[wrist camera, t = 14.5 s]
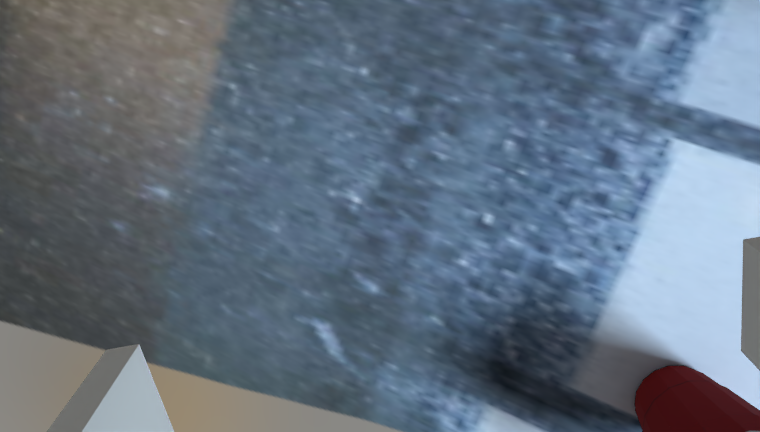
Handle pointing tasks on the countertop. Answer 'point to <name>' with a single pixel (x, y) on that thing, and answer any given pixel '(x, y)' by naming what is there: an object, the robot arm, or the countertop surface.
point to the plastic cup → (691, 404)
